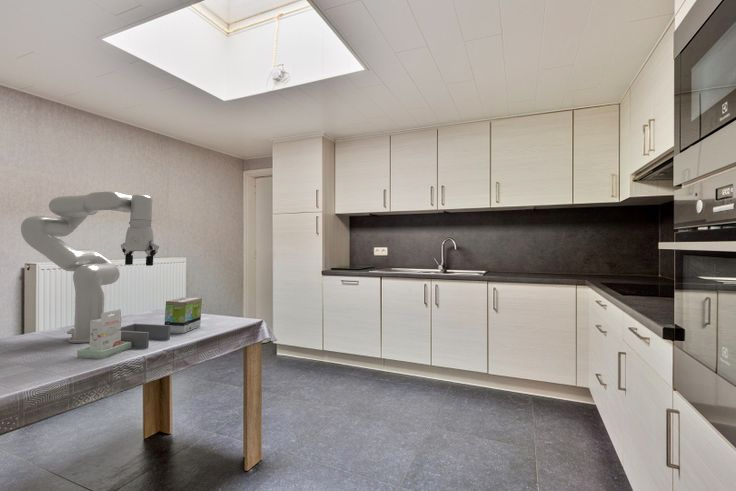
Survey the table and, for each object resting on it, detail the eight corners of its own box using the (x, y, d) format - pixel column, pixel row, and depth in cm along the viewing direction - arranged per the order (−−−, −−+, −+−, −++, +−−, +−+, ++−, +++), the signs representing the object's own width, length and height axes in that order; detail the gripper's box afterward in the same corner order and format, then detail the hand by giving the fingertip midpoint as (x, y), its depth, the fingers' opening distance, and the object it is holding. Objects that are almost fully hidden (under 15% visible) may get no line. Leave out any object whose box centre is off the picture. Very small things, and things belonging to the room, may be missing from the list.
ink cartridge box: (109, 346, 132) (111, 308, 132) (121, 347, 131) (122, 309, 131) (88, 353, 123) (90, 312, 123) (100, 354, 122) (101, 313, 123)
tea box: (184, 333, 157) (186, 301, 157) (163, 333, 157) (164, 300, 158) (201, 326, 172) (202, 297, 173) (181, 325, 172) (182, 296, 173)
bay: (107, 346, 135) (107, 330, 135) (134, 337, 149) (134, 323, 149) (146, 348, 134) (146, 332, 134) (169, 339, 147) (170, 325, 148)
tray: (77, 357, 121) (77, 350, 121) (108, 346, 134) (108, 340, 134) (102, 358, 120) (102, 351, 120) (131, 348, 133) (131, 341, 133)
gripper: (114, 223, 141) (113, 264, 141) (152, 224, 139) (150, 266, 138) (130, 224, 149) (128, 264, 148) (165, 225, 146) (164, 265, 146)
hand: (139, 265), depth 143 cm, fingers open, 9 cm apart
